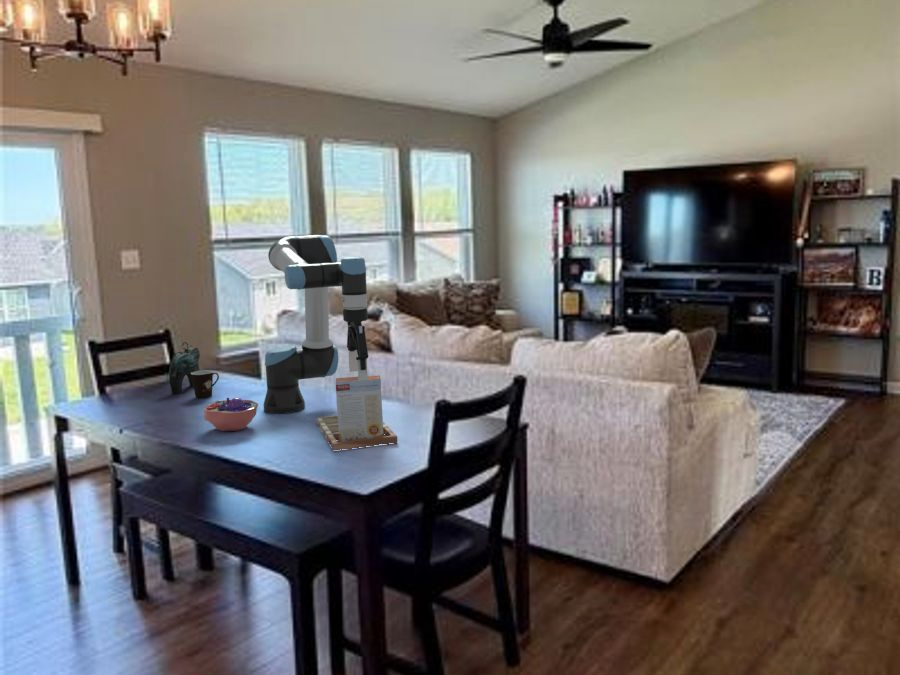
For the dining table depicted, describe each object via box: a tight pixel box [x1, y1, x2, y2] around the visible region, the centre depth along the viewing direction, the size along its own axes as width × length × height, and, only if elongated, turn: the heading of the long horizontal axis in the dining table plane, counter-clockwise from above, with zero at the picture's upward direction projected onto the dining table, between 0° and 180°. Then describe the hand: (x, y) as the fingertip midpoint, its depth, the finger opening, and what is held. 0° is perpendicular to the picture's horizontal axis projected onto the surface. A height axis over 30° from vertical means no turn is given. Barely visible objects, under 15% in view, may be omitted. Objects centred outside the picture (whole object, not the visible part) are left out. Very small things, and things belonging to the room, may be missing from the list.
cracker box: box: [335, 375, 385, 442], centre depth 232 cm, size 14×6×21 cm, turn 97°
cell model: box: [202, 397, 259, 432], centre depth 252 cm, size 17×20×11 cm
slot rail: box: [316, 414, 398, 451], centre depth 243 cm, size 33×20×2 cm, turn 19°
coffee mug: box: [191, 369, 220, 399], centre depth 301 cm, size 12×9×10 cm
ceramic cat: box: [168, 341, 201, 395], centre depth 315 cm, size 20×6×20 cm, turn 169°
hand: (358, 375), depth 230 cm, fingers open, 13 cm apart
